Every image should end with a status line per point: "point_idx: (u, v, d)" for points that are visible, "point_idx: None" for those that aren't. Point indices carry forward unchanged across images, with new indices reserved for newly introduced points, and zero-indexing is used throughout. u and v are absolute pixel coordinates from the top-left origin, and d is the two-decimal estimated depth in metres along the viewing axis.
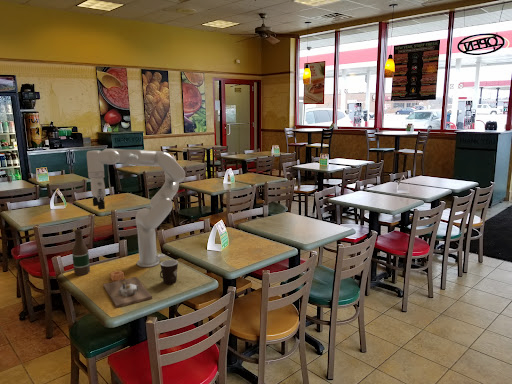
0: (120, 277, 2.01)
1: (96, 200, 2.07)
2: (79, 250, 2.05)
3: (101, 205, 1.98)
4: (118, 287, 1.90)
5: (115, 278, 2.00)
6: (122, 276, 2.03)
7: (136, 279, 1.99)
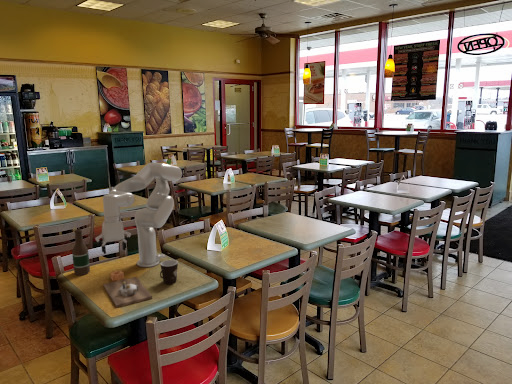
0: (120, 277, 2.01)
1: None
2: (79, 250, 2.05)
3: None
4: (118, 287, 1.90)
5: (115, 278, 2.00)
6: (122, 276, 2.03)
7: (136, 279, 1.99)
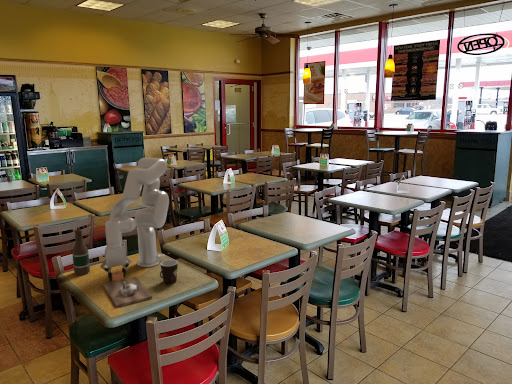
0: (120, 277, 2.01)
1: None
2: (79, 250, 2.05)
3: None
4: (118, 287, 1.90)
5: (115, 278, 2.00)
6: (122, 276, 2.03)
7: (136, 279, 1.99)
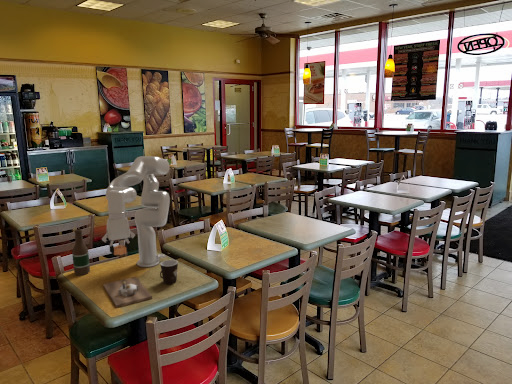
0: (123, 251, 1.88)
1: None
2: (79, 250, 2.05)
3: None
4: (118, 287, 1.90)
5: (117, 252, 1.87)
6: (125, 250, 1.89)
7: (136, 279, 1.99)
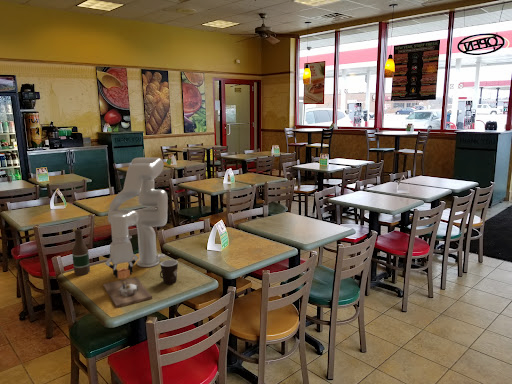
0: (126, 275, 1.88)
1: None
2: (79, 250, 2.05)
3: None
4: (118, 287, 1.90)
5: (121, 276, 1.87)
6: (128, 274, 1.90)
7: (136, 279, 1.99)
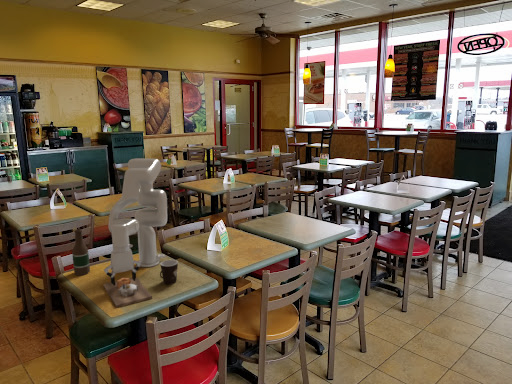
0: None
1: None
2: (79, 250, 2.05)
3: None
4: (118, 287, 1.90)
5: None
6: (129, 283, 1.91)
7: (136, 279, 1.99)
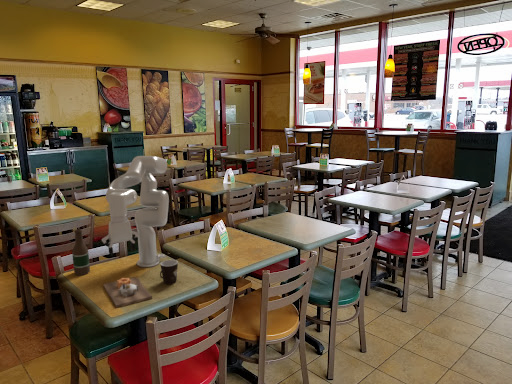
0: None
1: None
2: (79, 250, 2.05)
3: None
4: (118, 287, 1.90)
5: None
6: (129, 283, 1.91)
7: (136, 279, 1.99)
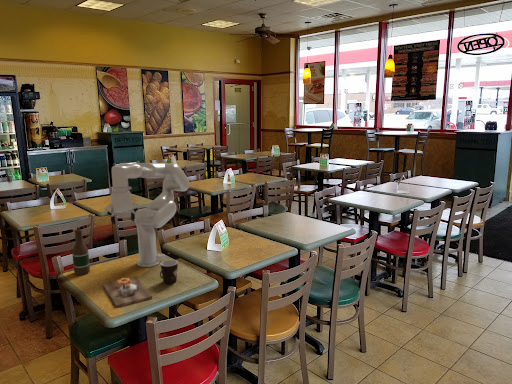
0: None
1: None
2: (79, 250, 2.05)
3: None
4: (118, 287, 1.90)
5: None
6: (129, 283, 1.91)
7: (136, 279, 1.99)
